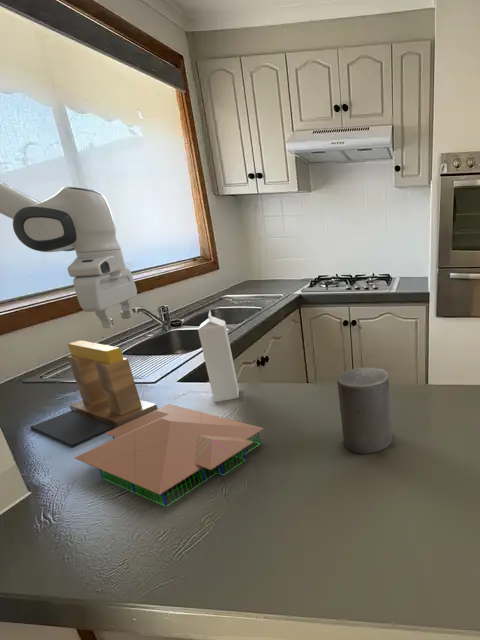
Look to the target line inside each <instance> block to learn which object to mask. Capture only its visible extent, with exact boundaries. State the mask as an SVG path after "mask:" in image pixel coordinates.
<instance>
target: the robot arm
mask: <svg viewBox="0 0 480 640" xmlns="http://www.w3.org/2000/svg"><path fill="white" fill-rule="evenodd" d="M108 203H109V202H108V200H107V198H106V197H105V195H103V194H102V193H101V192H99V191H97V190H94V189H92V188H91V189H90V188H85V187H79V186H63V187H61V188H60V190H58V192H57V193H55V194H54V195H52V196H51V197H48V198H47V199H45V200H42V201H39V200H37V199H35V198H33V197H31V196H29V195H27V194H25V193H23V192H21V191H20V190H18V189H15V188H14V187H12V186H10V185H8V184H6V183H4V182H2V181H0V214H1V215H4V216H5V217H7V218H10V219H12V228H13V232H14V234H15V236H16V237H17V239H18V240H19V241H20V242H21V244H23V245H24V246H25V247H27V248H28V249H30V250H34V251H37V252H42V253H57V252H73V251H75V254H76V257H75V259H74V261H73V262H71V263H70V265H68V266H67V273H68V276H69V277H71V278H73V279H72V282H73V288H74V292H75V295H76V298H77V301H78V304H79V306H80V308H81V309H82V310H83V311H84V313H85V312H86V313H91V312H92V313H93V312H94V313H95V316H96V317H97V318H98V320H100V321H101V325H102V328H103V329H111V328H112V327H114V326H115V325H114V324H115V323H114V320H113V318H111V317H110V316H109V314H108V313H109V308H111V307H112V306H116V305H120V306H121V307H120V308H121V311H120V316H121V318H122V320H129V319H131V318H132V312H131V310H132V301H131V299H133V298H135V297H137V296H138V289H137V286H136V283H135V279H134V277H133V274H132V271H131V269H130V268H128V267H127V265H126V263H125V259H124V256H123V252H122V247H121V245H120V244H119V243H118V239H117V234H116V233H117V228H116V224H115V220H114V217H113V214H112V210H111V208H110V205H109V204H108Z"/></svg>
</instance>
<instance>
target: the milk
mask: <svg viewBox="0 0 480 640" xmlns="http://www.w3.org/2000/svg"><path fill="white" fill-rule="evenodd" d="M207 317H208V318H207V319H205V320H204V321H203V322H201V323H200V324H199V326H198V329H197V332H198V337H199V341H200V345H201V348H202V349H201V350H202V355H203V360H204V363H205V368H206V372H207V376H208V381H209V386H210V389H211V394H212V398H213V402H214V403H219V402H223V401H229V400H236V399H239V397H240V396H239V395H240V388H239V383H238V379H237V374H236V368H235V365H234V364H235V362H234V359H233V354H232V349H231V348H232V347H231V343H230V339H229V333H228V328H227V323H226V321H225V320H224V319H221V318H218V317H215V316H212V312H211V310H209V312H208V314H207Z"/></svg>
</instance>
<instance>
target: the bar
mask: <svg viewBox="0 0 480 640" xmlns="http://www.w3.org/2000/svg"><path fill="white" fill-rule="evenodd" d="M67 346H68V349H69V351H70V356H71V355H73V356H77V357H82V358H86V359H91V360H95V361H100V362H104V363H108V364H112V363H115V362H118V361H121V360H123V358H124V357H123V354H122V350H121V348H120V346H119V347H118V346H113V345H109V344H102V343H98V342H93V341H87V340H81V339H80V340H76V341H72V342H69V343H67Z"/></svg>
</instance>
